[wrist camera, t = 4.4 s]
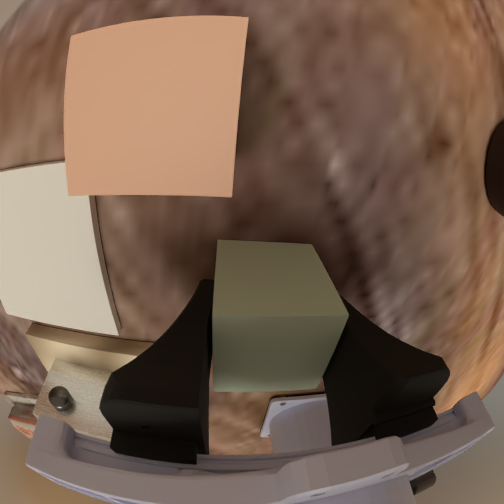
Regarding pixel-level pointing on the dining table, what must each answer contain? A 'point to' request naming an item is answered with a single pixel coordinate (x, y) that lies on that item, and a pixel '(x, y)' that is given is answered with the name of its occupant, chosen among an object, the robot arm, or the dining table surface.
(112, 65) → the terracotta block
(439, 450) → the robot arm
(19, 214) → the mat
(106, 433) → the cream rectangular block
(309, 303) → the sage block
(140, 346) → the beige box
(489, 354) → the dining table surface
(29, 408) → the packaged product
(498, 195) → the bottle
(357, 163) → the dining table surface
